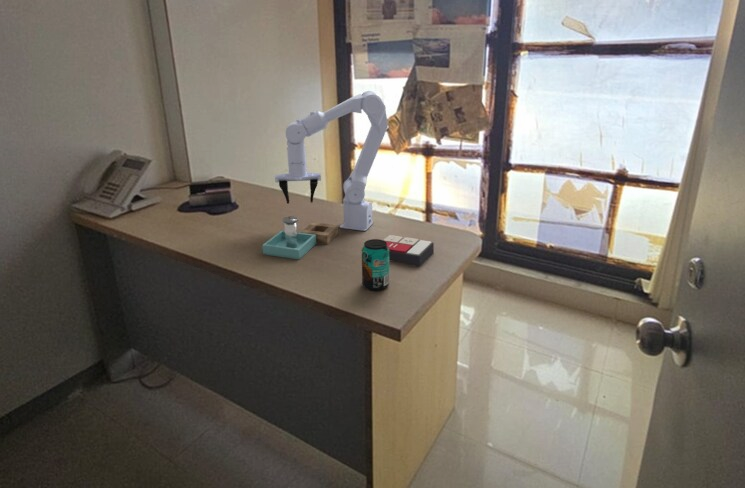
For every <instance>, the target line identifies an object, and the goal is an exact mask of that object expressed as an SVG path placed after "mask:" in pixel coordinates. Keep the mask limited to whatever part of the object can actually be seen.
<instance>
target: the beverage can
mask: <svg viewBox="0 0 745 488" xmlns="http://www.w3.org/2000/svg"><path fill="white" fill-rule="evenodd" d="M383 240H384V239H378V238H375V239H374V238H373V239H368V240H366V241H365V242H364V243H363V244H364V245H363V247H362V248H361V281H362V282H361V285H363V287H364V288H365V289H367V290H369V291H374V292H377V291H378V292H379V291H383V290H384V289H386V288H388V287H389V285H390V260H389V248H388V247H387V243H386V242H385V241H383Z"/></svg>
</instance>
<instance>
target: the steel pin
mask: <svg viewBox="0 0 745 488" xmlns="http://www.w3.org/2000/svg"><path fill="white" fill-rule="evenodd" d="M298 221H299V219H298V217H296V216H292V215H291V216H285V217H283V218H282V223H283V224H284V231H285V238H286V247H289V248H297V247H298V238H297V232H298V228H297V226H298V225H297V224H298V223H297V222H298Z"/></svg>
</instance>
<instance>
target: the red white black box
mask: <svg viewBox="0 0 745 488" xmlns="http://www.w3.org/2000/svg"><path fill="white" fill-rule="evenodd" d="M419 239H420V238H414V237H406V236H405V237H403V236H399V235H393V234H389V235H388V236H387V237H385V238H384V239H382V240H383V241H385V242H386V243H387V247H388V248H389V262H390V261H391V262H396V263H397V262H398V263H403V264H405V265H408V266H412V267H416V268H417V267H418V268H420V267H422V266H423V265H424V264H425V262H427V260H429V258H430V257H431V256H433V254H435V253H434V249H435V248H434V244H435V243H434V242H433V241H429V240H423V239H420V240H419Z"/></svg>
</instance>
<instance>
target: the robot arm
mask: <svg viewBox="0 0 745 488" xmlns="http://www.w3.org/2000/svg"><path fill="white" fill-rule="evenodd" d="M386 107H387V106H386V105H385V103H384V102H383V99H382V98H381V97H380V96H379V95H377V93H375V92H374V91H371V90H367V91H364V92H363V93H358V94H357V95H354V96H352V97H349V98H348V99H346V100H344V101H342V102H341V103H338V104H337V105H335V106H333V107H331V108H329V109H328V110H326V111H324V112H322V111H319V110H317V111H314V110H312V111H310V112H309V115H306V116H305V117H303V118H301V119H300V118H297V119H296V122H295V121H292V122H291V123H289V124H288V125H287V126H286V128H285V137H286V145H287V148H286V152H287V155H286V156H287V164H288V165H287V166H288V167H287V168H288V173H284V174H275V176H274V177H275V178H274V179H275V180H274V181H275V183H278V186H279V187H280V189H281V192H282V193H283V195H284V198H285V200H286V204H290V196H289V187H288V186H289V185H288V182H302V181H303V182H305V181H309V185H310V187H309V189H310V191H309V192H310V199H309V200H310V203H313V202H314V196H315V191H316V189H317V186H318V183H319V182H321V181H322V176H321V175H322V174H321V173H315V172H308V171H307V170H308V169H307V168H308V167H307V154H306V153H307V152H306V151H307V150H306V146H305V138H307V137H308V138H309V137H311V136H313V135H315V134H317V133H319V132H321V131H323V130H325V129H326V128H327V126H328V123H330V122H331V121H334V120H337V119H338V118H340V117H341V118H342V117H344V116H346V115H348V114H351V113H356V114H362V111H363V112H364V113H365V114H366V116H367V118H368V120H369V123H370V124H371V125H370V128H369V131H368V133H367V135H366V138H365V141H364V143H363V145H362V148H361V150H360V153H359V156H358V159H357V162H355V165H354V168H353V170H352V172H350V173H349V177H348V178H347V179H346V180H344V182H343V184H342V188H343V192H344V194H345V195H344V197H343V199H342V204H343V205H342V207H343V223H342V224H340V225H339V229H346V230H355V231H362V232H363V231H364V232H366V231H368V229H369V228H370V227H371V226H372V225H373V224H374V223H373V204H372V202H371V201H367V200H365V194H366V193H365V189H366V186H367V182H368V176H369V173H370V171H371V169H372V166H373V163H374V161H375V159H376V157H377V154H378V151H379V150H380V147H381V144H382V143H383V139H384V137H385V135H386V132H387V130H388V127H389V123H388V117H387V111H386Z"/></svg>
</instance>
